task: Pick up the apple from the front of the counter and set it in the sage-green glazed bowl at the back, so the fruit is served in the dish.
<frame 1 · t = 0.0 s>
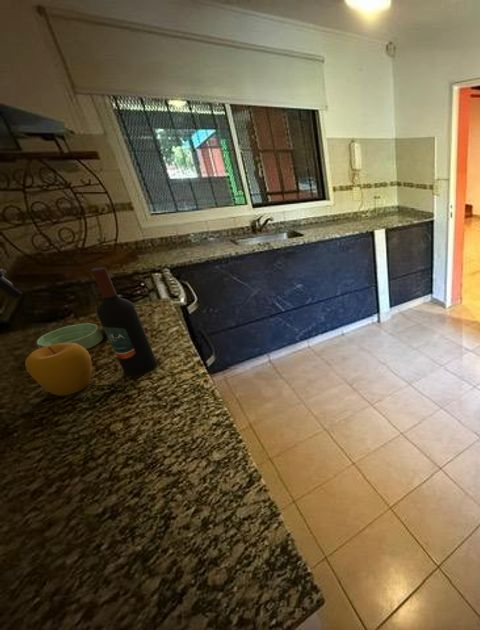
apple: (74, 389, 89), on the countertop
fish: (121, 327, 120), on the countertop
bowl: (75, 346, 108), on the countertop
wine bottle: (142, 370, 97), on the countertop
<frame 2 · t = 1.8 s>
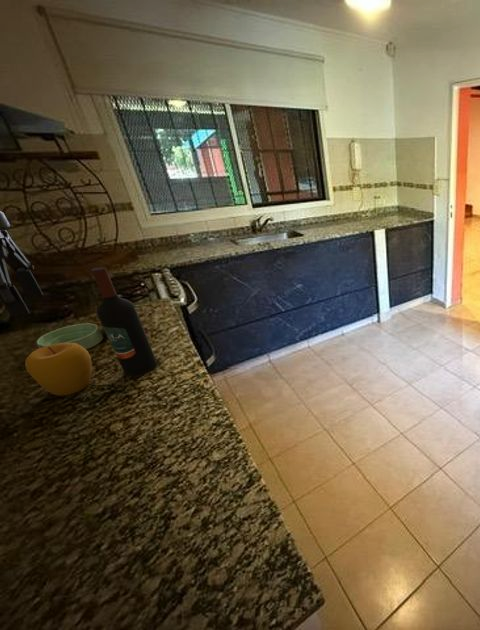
hand: (29, 305, 80), 23 cm above the countertop, tool pointing down, fingers open, 13 cm apart
nothing on the countertop moved.
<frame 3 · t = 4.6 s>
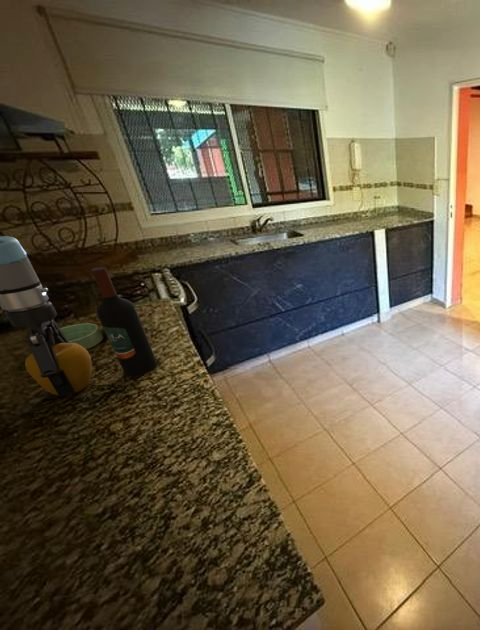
hand: (70, 382, 88), 2 cm above the countertop, tool pointing down, fingers closed on apple, 11 cm apart
apple: (74, 389, 89), on the countertop, touching gripper
everything else where it was.
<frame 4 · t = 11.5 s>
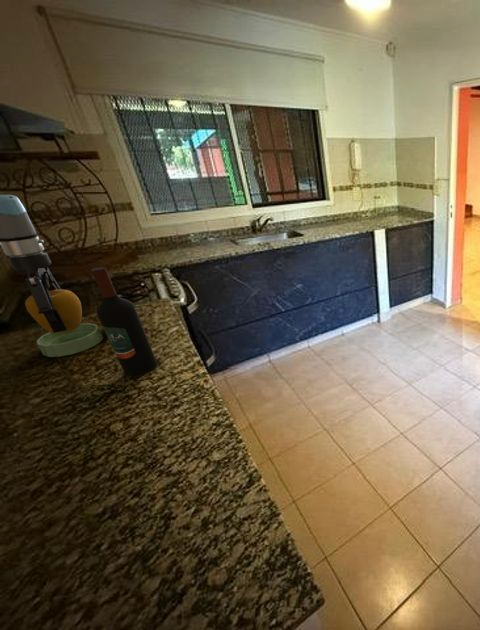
hand: (63, 323, 105), 8 cm above the countertop, tool pointing down, fingers closed on apple, 11 cm apart
apple: (67, 329, 106), point 6 cm above the countertop, touching gripper
everything else where it was.
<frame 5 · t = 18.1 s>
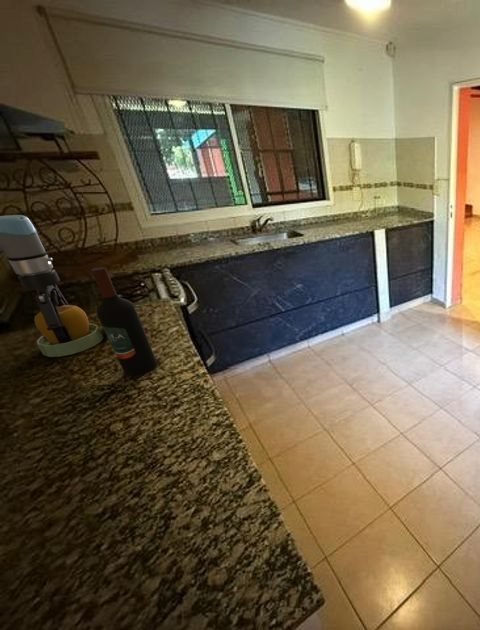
hand: (71, 338, 107), 3 cm above the countertop, tool pointing down, fingers closed on apple, 11 cm apart
apple: (74, 344, 108), point 1 cm above the countertop, touching gripper
everything else where it was.
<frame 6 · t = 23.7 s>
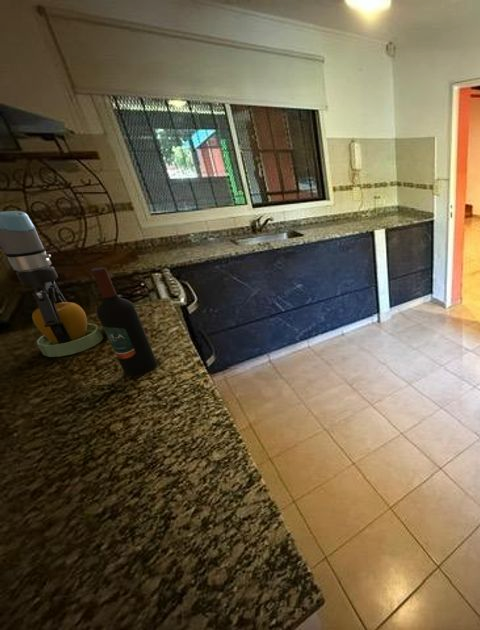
hand: (69, 335, 107), 4 cm above the countertop, tool pointing down, fingers closed on apple, 11 cm apart
apple: (72, 341, 108), point 2 cm above the countertop, touching gripper
everything else where it was.
when the fingers open (5 cm above the countertop, at t = 29.0 s): apple drops 2 cm, resting on bowl.
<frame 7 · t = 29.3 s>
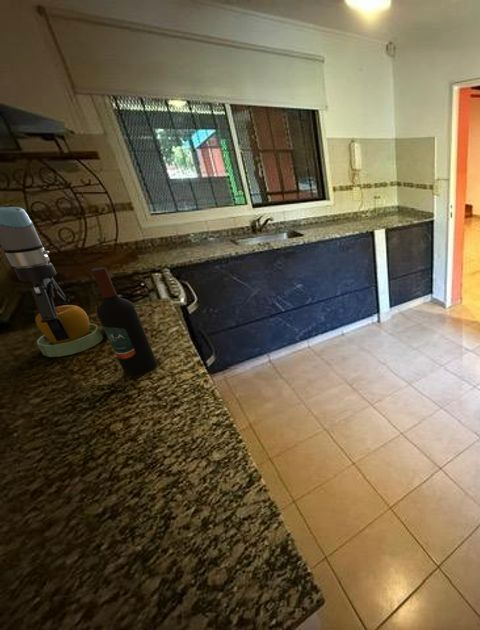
hand: (66, 330, 106), 6 cm above the countertop, tool pointing down, fingers open, 13 cm apart
apple: (75, 344, 109), resting on bowl
everything else where it was.
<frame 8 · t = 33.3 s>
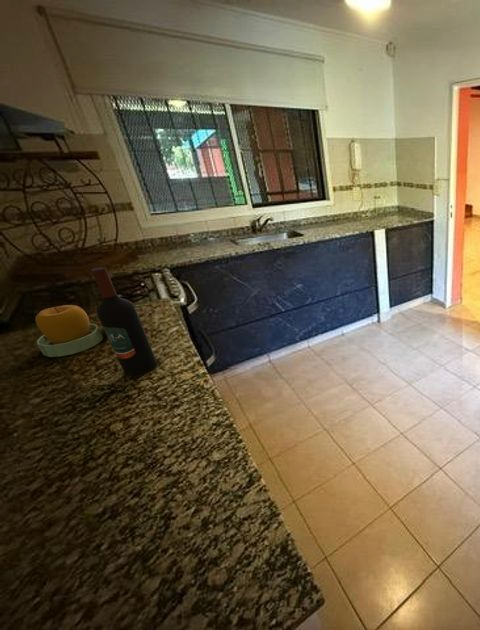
nothing on the countertop moved.
at the end: apple inside the target area in the bowl (0.7 cm from its centre), point 0.4 cm above the bowl's base; the gripper is holding nothing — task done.
